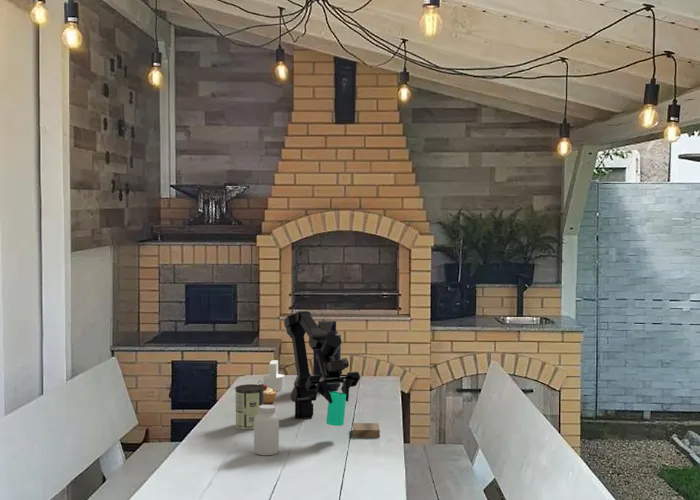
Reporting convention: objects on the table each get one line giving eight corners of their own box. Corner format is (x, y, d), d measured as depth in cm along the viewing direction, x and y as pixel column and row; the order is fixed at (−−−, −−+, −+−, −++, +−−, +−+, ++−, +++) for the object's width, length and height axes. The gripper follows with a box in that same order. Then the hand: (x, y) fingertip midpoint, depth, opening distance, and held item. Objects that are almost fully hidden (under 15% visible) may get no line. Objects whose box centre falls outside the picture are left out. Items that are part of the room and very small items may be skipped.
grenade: (315, 385, 359) (316, 318, 357) (342, 386, 357) (342, 319, 355) (310, 392, 345) (310, 322, 343) (337, 393, 343) (337, 323, 342)
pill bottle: (282, 450, 261) (282, 404, 261) (272, 457, 254) (272, 410, 253) (260, 447, 264) (260, 402, 263) (249, 454, 256) (249, 408, 256)
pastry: (257, 407, 317) (258, 385, 317) (241, 402, 326) (241, 380, 326) (282, 403, 325) (282, 381, 325) (265, 397, 334) (265, 376, 334)
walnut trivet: (353, 437, 277) (353, 430, 277) (353, 430, 286) (353, 423, 286) (379, 437, 277) (379, 430, 277) (378, 430, 286) (378, 423, 286)
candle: (341, 426, 270) (344, 391, 270) (324, 424, 271) (327, 388, 271) (345, 423, 276) (348, 388, 276) (328, 420, 277) (331, 386, 277)
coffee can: (251, 420, 298) (251, 382, 297) (269, 425, 291) (269, 387, 290) (229, 425, 290) (229, 387, 290) (247, 431, 283) (247, 391, 283)
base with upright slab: (283, 391, 345) (283, 364, 344) (262, 391, 345) (262, 364, 345) (284, 387, 354) (285, 360, 353) (264, 387, 354) (264, 360, 354)
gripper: (308, 352, 272) (320, 391, 263) (358, 348, 280) (371, 386, 271) (300, 370, 280) (311, 409, 271) (349, 366, 288) (361, 404, 278)
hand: (339, 402), depth 272 cm, fingers closed on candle, 6 cm apart
